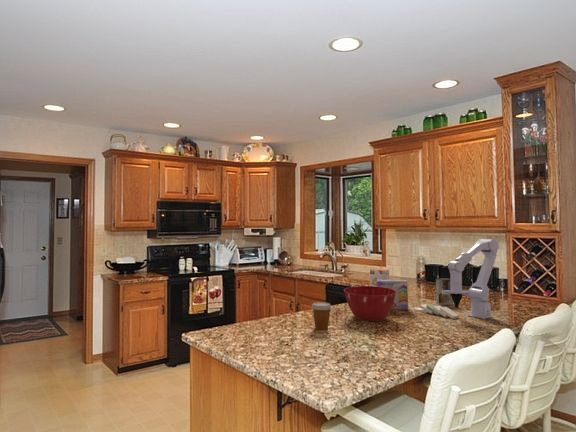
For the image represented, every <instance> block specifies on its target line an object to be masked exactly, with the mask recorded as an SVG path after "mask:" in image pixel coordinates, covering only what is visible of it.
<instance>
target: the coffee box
mask: <svg viewBox="0 0 576 432" xmlns="http://www.w3.org/2000/svg"><path fill="white" fill-rule="evenodd" d="M442 290H451V277H450V278H441V277H440V278H439V277H438V278H435V300H436V302H435V303H436V304H437V306H441V305H442V306H443V305H444V306H448V305H451V306H453V305H454V302H453V299H452V297H451V295H450V294H442Z"/></svg>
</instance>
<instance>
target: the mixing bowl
mask: <svg viewBox="0 0 576 432" xmlns="http://www.w3.org/2000/svg"><path fill="white" fill-rule="evenodd" d="M343 292H344V295H345V299H346V301H347V305H348V307H349V310H350V311H351V313H352V314H353V316H354V317H356V318H357V319H358V320H360V321H363V322H364V321H365V322H378V321H382V320H383V319H385V318H386V317H387V316H388V315H389V314H390V311H391V310H392V309H391V307H392V305H393V302H394V299H395V295H396V293H397V292H396V291H395V290H393V289H390V288H384V287H375V286H370V285H364V286H363V285H361V286H360V285H357V286H350V287H346V288H344V289H343Z"/></svg>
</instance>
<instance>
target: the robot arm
mask: <svg viewBox="0 0 576 432" xmlns="http://www.w3.org/2000/svg"><path fill="white" fill-rule="evenodd" d="M499 247H500V245H499V243H498V240H497V239H495V238H479V239H478V240H477V241H475V244H474V245H473V246H472V247H471V248H470V249H469V250H468V251H467V252H461V253H460V255H459V256H458V257H456V258H455V259H454V260H451V261H449V263H448V265H447V268H448V271H449V274H450V279H451V290H442V294H450V295H451V297H452V299H453V305H454V308H455V309H459V306H460V303H461V300H462V298H463V296H468V297H469V298H470V299H469V300H470V304H471V309H470V314H468V315H467V316H469V317H473V318H477V319H481V320H482V319H483V320H484V319H489V318H492V317H493V316H492V305H491V303H490V302H489V301H487V300H488V299H489V297H490V288H489V286H488V283H489V279H490V277H491V273H492V271H493V267H494V265H495V261H496V260H497V253H498V250H499ZM480 252H481V253H482V254H483V255H484V259H483V262H482V263H481V267H480V269H479V273H478V275H477V279H476V281H475V282H474V283H471V286H470V288H469V289H468V290H463V276H462V275H463V274H462V273H463V271H465V267H466V266H467V265H469V263H470V262H472V260H473V257H474V256H475V255H477V254H478V253H480Z"/></svg>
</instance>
